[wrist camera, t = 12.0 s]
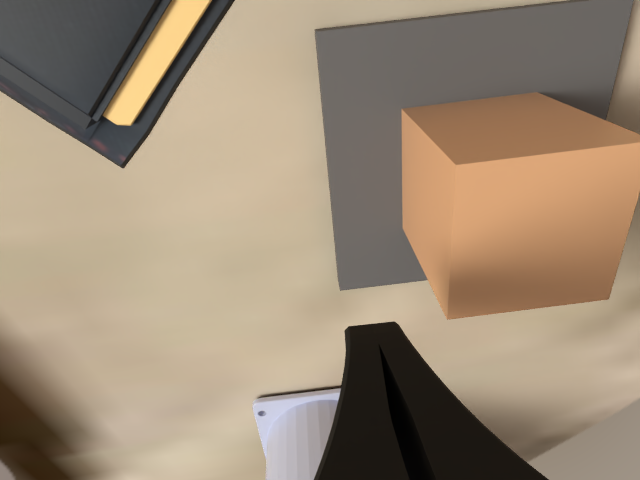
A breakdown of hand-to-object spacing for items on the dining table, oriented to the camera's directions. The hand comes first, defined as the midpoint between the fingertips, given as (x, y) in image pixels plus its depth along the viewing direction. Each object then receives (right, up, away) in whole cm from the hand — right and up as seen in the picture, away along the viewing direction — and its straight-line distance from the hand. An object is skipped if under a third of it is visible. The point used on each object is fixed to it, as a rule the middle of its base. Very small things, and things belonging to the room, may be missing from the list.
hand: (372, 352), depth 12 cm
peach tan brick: (+5, +6, +8) cm, 11 cm away
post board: (+5, +7, +8) cm, 12 cm away
